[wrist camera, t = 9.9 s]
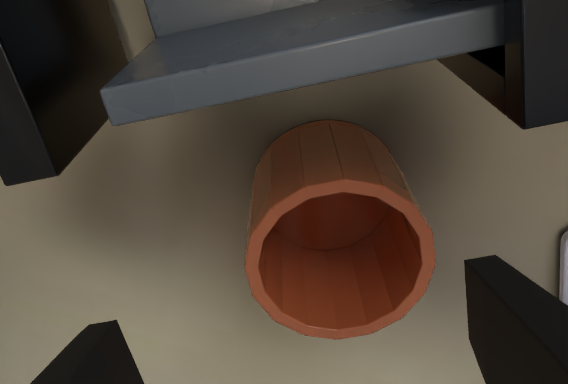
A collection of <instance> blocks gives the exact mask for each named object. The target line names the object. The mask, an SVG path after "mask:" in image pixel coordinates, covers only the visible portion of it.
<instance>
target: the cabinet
mask: <svg viewBox="0 0 568 384" xmlns="http://www.w3.org/2000/svg"><path fill="white" fill-rule="evenodd" d="M504 35H505V45H501V46H497V47H492V48H487V49H482V50H477V51H473V52H468V53H463V54H458V55H454V56H449V57H444V58H439V59H437V60H438V61H439V62H440V63H441V64H443V65H444V66H445V67H446V68H448V69H449V70H450V71H451V72H453V73H454V74H455V75H456V76H457V77H459V78H460V79H461V80H462V81H464V82H465V83H466V84H467V85H469V86H470V87H471V88H472V89H473V90H475V91H476V92H477V93H478V94H480V95H481V96H482V97H483V98H484V99H486V100H487V101H488V102H489V103H491V104H492V105H493V106H494V107H496V108H497V109H498V110H499V111H500V112H502V113H503V114H504V115H506V116H507V117H508V118H509V119H510V120H512V121H513V122H514V123H515V124H517V125H518V126H519V127H520V128H521V129H530V128H535V127H540V126H545V125H550V124H555V123H560V122H565V121H568V0H504Z"/></svg>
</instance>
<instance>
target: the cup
mask: <svg viewBox="0 0 568 384" xmlns="http://www.w3.org/2000/svg"><path fill="white" fill-rule="evenodd" d="M435 263H436V258H435V248H434V238H433V232H432V230H431V228H430V226H429V224H428V222H427V220H426V218H425V216H424V214H423V212H422V210H421V208H420V206H419V204H418V203H417V201H416V199H415V197H414V195H413V193H412V191H411V189H410V187H409V185H408V183H407V181H406V179H405V177H404V176H403V174H402V172H401V170H400V168H399V166H398V165H397V163H396V161H395V160H394V158H393V157H392V155H391V153H390V151H389V150H388V148H387V147H386V146H385V144H384V143H383V142H382V141H381V140H380V139H379V138H378V137H376V136H375V135H374V134H372V133H371V132H370V131H368V130H366V129H364V128H362V127H360V126H357V125H355V124H352V123H348V122H344V121H336V120H321V121H314V122H309V123H306V124H302V125H300V126H297V127H295V128H293V129H291V130H289V131H287V132H285V133H284V134H283V135H281V136H280V137H279V138H277V139H276V140H275V141H274V142H273V143H272V144H271V145H270V146H269V147H268V148H267V150H266V151H265V152H264V154H263V155H262V157H261V159H260V160H259V162H258V165H257V167H256V170H255V174H254V178H253V186H252V192H251V198H250V209H249V220H248V231H247V242H246V253H245V264H244V266H245V272H246V275H247V278H248V282H249V285H250V289H251V292H252V295H253V297H254V298H255V300H256V301H257V302H258V303H259V304H260V305H261V306H262V308H263V309H264V310H265V311H266V312H267V313H268V314H269V315H270V317H271V318H272V319H273V320H275V321H276V322H278V323H280V324H282V325H284V326H286V327H288V328H290V329H292V330H294V331H296V332H298V333H300V334H302V335H303V334H304V335H306V336H313V337H320V338H328V339H335V340H336V339H344V338H350V337H356V336H362V335H368V334H371V333H374V332H376V331H378V330H380V329H382V328H384V327H386V326H388V325H390V324H392V323H393V322H395V321H397V320H399V319H401V317H403V316H404V315H405V314H406V313H407V312H408V311H409V310H410V309H411V308H412V307H413V306H414V305H415V304H416V303H417V302H418V301H419V299H420V298H421V297H422V296H423V295H424V293H425V292H426V289H427V286H428V284H429V281H430V278H431V276H432V273H433V270H434V268H435Z"/></svg>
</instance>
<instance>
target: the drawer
mask: <svg viewBox="0 0 568 384" xmlns="http://www.w3.org/2000/svg"><path fill="white" fill-rule="evenodd" d="M144 3H145V6H146V9H147V12H148V15H149V19H150V22H151V25H152V28H153V31H154V35H155V38H156V39H155V40H154V41H152V42H151V43H150V44H149V45H148V46H147V47H146V48H145V49H144V50H143V51H142V52H141V53H139V54H138V55H137V56H136V57H135V58H134V59H133V60H132V61H131V62H130V63H128V60H127V57H126V55H125V52H124V49H123V46H122V43H121V40H120V37H119V34H118V31H117V28H116V25H115V22H114V19H113V16H112V13H111V10H110V7H109V5H108V2H107V0H0V176H1V178H2V180H3V182H4V184H5V185H6V186H10V185H15V184H20V183H25V182H30V181H35V180H40V179H45V178H50V177H54V176H59V175H60V174H61V173H62V171H63V170H64V169H65V168H66V167H67V166H68V165H69V163H70V162H71V161H72V160H73V159H74V158H75V157H76V155H77V154H78V153H79V152H80V151H81V150H82V149H83V147H84V146H85V145H86V144H87V143H88V142H89V141H90V139H91V138H92V137H93V136H94V135H95V134H96V133H97V131H98V130H99V129H100V128H101V127H102V126H103V125H104V123H105V122H106V121H107V120H108V119H110V122H111V124H112V126H120V125H125V124H130V123H135V122H140V121H144V120H149V119H154V118H159V117H163V116H168V115H173V114H178V113H182V112H187V111H192V110H197V109H201V108H206V107H211V106H216V105H220V104H225V103H230V102H235V101H239V100H244V99H249V98H254V97H259V96H263V95H268V94H273V93H278V92H282V91H287V90H292V89H297V88H301V87H306V86H311V85H316V84H320V83H325V82H330V81H335V80H339V79H344V78H349V77H354V76H358V75H363V74H368V73H373V72H378V71H382V70H387V69H392V68H397V67H401V66H406V65H411V64H416V63H420V62H425V61H430V60H435V59H439V58H444V57H449V56H454V55H458V54H463V53H468V52H473V51H477V50H482V49H487V48H492V47H497V46H501V45H505V35H504V0H144Z"/></svg>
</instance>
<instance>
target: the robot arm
mask: <svg viewBox="0 0 568 384" xmlns="http://www.w3.org/2000/svg"><path fill="white" fill-rule="evenodd" d="M464 265H465V281H466V298H467V314H468V331H469V340H470V343H471V346H472V348H473V351H474V354H475V357H476V359H477V362H478V365H479V367H480V370H481V373H482V375H483V378H484V380H485V383H486V384H568V231H566V232H565V233H564V234H563V236H562V238H561V249H560V287H559V299H558V298H556V297H555V296H553V295H552V294H550V293H549V292H547V291H546V290H544V289H543V288H542V287H540V286H539V285H537V284H536V283H534V282H533V281H532V280H530V279H529V278H527V277H526V276H525V275H523V274H522V273H520V272H519V271H518V270H516V269H515V268H513V267H512V266H511V265H509V264H508V263H506V262H505V261H503V260H502V259H501V258H499V257H498V256H496V255H492V256H486V257H480V258H474V259H468V260H464ZM30 384H144V382H143V380H142V377H141V375H140V373H139V370H138V368H137V366H136V364H135V361H134V359H133V357H132V354H131V352H130V350H129V347H128V345H127V343H126V341H125V338H124V336H123V334H122V331H121V329H120V327H119V324H118V322H117V320H114V321H108V322H102V323H96V324H90V325H88V326H87V327H86V328H85V329H84V330H83V331H81V332H80V333H79V334H78V335H77V336H76V337H75V338H74V339H73V340H72V341H71V342H70V343H69V344H68V345H67V346H66V347H65V348H64V349H63V350H62V351H61V352H60V353H59V355H58V356H57V357H56V358H55V359H54V360H53V361H52V362H51V363H50V364H49V365H48V366H47V367H46V368H45V369H44V370H43V371H42V372H41V373H40V374H39V375H38V376H37V377H36V378H35V379H34V380H33V381H32V382H31V383H30Z"/></svg>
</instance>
